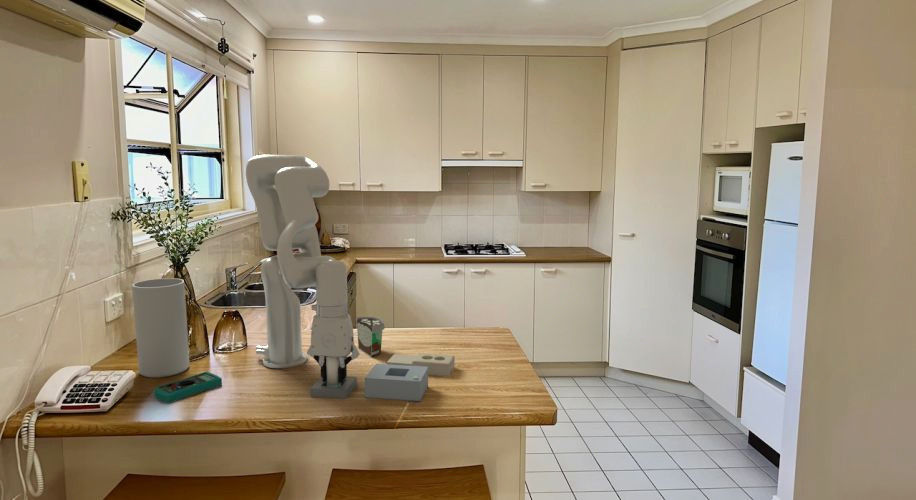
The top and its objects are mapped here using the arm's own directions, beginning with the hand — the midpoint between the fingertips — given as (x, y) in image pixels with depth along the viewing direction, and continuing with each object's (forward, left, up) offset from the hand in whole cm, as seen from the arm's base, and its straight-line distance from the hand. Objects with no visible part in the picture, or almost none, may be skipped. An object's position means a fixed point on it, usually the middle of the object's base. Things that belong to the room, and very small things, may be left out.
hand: (333, 379), depth 141 cm
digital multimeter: (-37, -5, -4) cm, 37 cm away
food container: (+1, +32, -4) cm, 32 cm away
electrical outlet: (+19, +19, -4) cm, 27 cm away
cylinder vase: (-52, +7, -3) cm, 53 cm away
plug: (0, 0, -3) cm, 3 cm away
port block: (+16, +2, -3) cm, 16 cm away
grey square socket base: (0, 0, -3) cm, 3 cm away
